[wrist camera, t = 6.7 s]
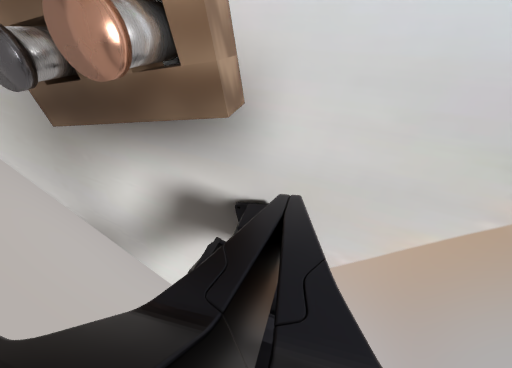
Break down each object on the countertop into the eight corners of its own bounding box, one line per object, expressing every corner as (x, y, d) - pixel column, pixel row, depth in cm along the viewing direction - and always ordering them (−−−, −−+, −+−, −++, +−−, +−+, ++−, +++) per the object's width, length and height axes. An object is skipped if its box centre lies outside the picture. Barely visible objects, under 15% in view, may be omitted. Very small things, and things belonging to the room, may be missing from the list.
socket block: (244, 103, 20) (228, 117, 16) (87, 114, 26) (53, 126, 22) (211, -103, 13) (174, -144, 10) (9, -22, 19) (-54, -32, 16)
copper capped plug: (196, 61, 17) (135, 77, 12) (151, 68, 18) (77, 85, 13) (177, -13, 14) (89, -35, 9) (127, 1, 16) (24, -12, 10)
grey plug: (112, 73, 21) (38, 89, 16) (80, 78, 22) (2, 94, 17) (86, 16, 18) (-12, 12, 13) (52, 25, 20) (-50, 24, 14)
